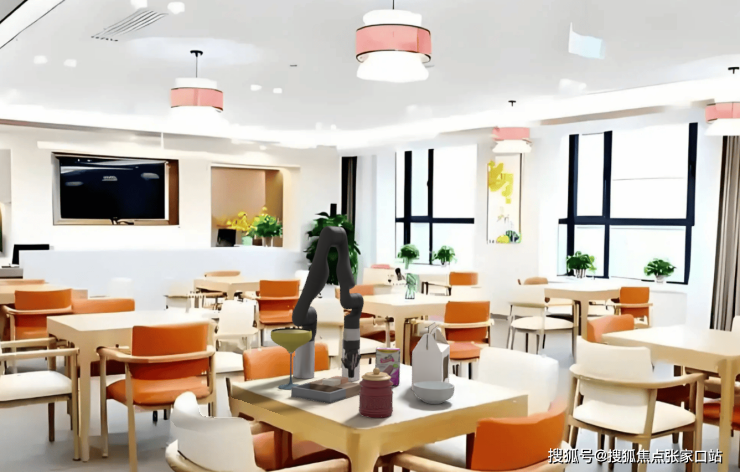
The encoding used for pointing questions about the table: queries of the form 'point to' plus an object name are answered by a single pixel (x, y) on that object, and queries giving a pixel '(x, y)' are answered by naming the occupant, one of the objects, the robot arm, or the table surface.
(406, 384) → the table surface
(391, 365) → the candy bar box
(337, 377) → the terracotta tile
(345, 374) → the milk
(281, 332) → the cocktail glass
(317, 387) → the brown wooden board
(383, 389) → the canister
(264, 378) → the table surface
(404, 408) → the table surface
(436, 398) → the cereal bowl
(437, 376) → the gable box
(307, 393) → the box
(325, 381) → the cream tile
